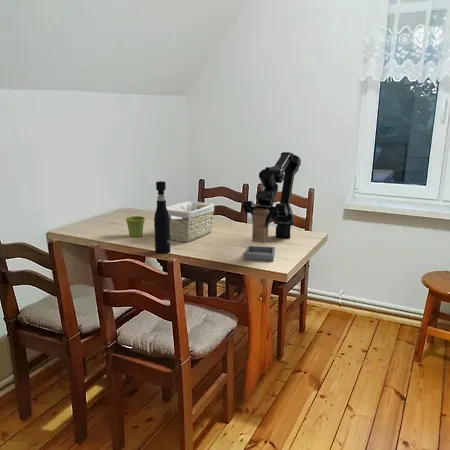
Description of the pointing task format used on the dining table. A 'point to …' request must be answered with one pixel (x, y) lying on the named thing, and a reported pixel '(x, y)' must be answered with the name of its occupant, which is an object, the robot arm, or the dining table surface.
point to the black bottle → (161, 222)
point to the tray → (260, 253)
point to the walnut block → (260, 225)
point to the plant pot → (135, 225)
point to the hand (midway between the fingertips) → (259, 225)
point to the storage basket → (190, 220)
